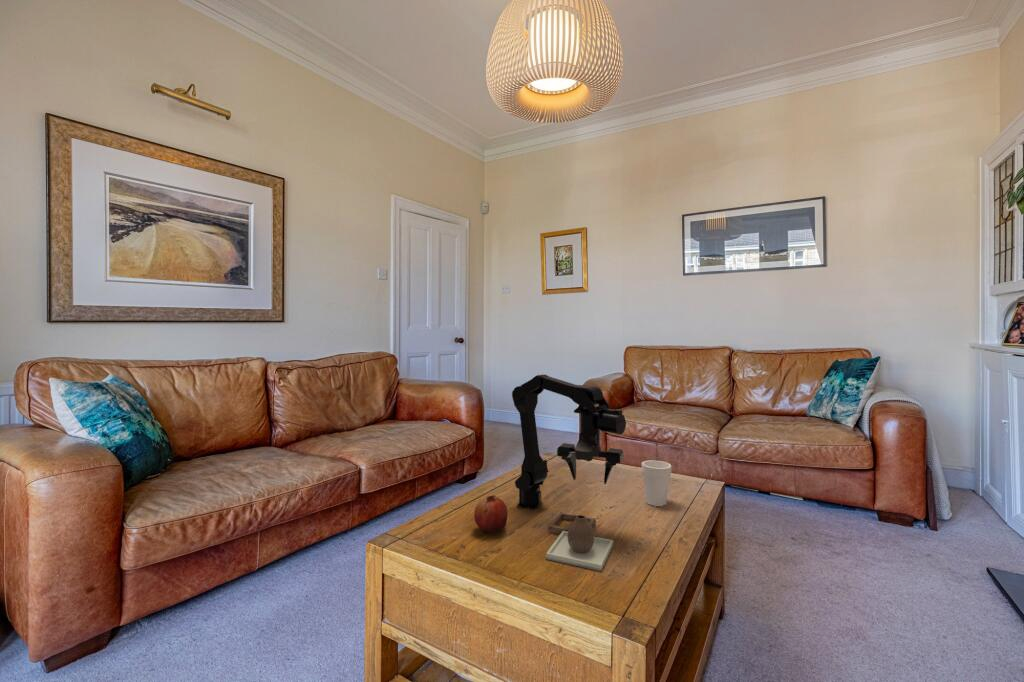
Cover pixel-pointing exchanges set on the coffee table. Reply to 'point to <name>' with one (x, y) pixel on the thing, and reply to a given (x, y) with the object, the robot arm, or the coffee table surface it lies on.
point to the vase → (580, 535)
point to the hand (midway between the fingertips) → (589, 481)
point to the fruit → (491, 514)
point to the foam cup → (656, 481)
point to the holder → (570, 517)
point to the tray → (587, 560)
